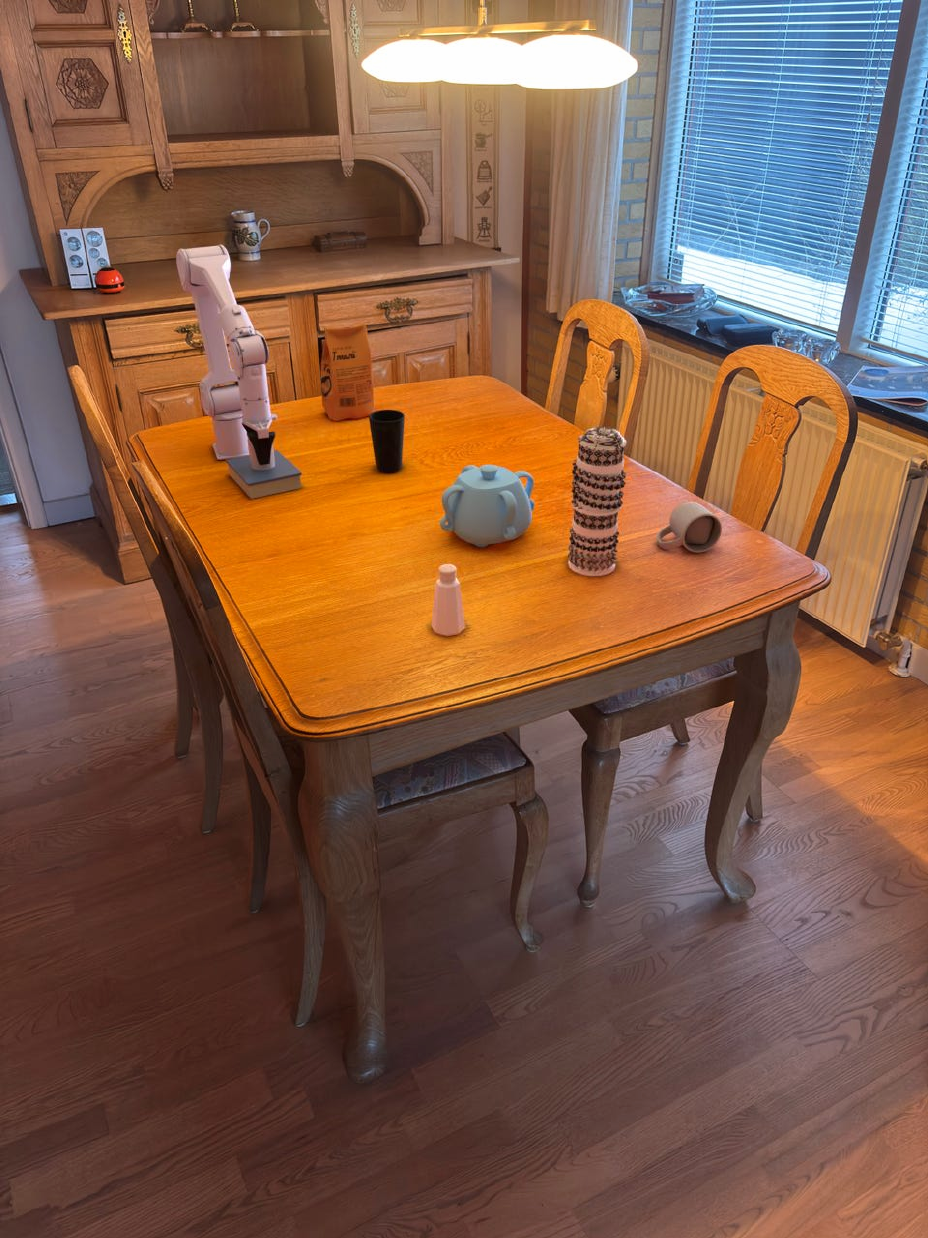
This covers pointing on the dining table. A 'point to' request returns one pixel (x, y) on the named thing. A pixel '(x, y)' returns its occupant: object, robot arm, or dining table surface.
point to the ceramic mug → (691, 528)
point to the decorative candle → (596, 501)
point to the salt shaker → (447, 603)
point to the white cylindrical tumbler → (255, 462)
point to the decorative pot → (488, 505)
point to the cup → (387, 439)
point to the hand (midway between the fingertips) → (262, 459)
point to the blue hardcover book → (264, 476)
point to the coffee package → (347, 373)
